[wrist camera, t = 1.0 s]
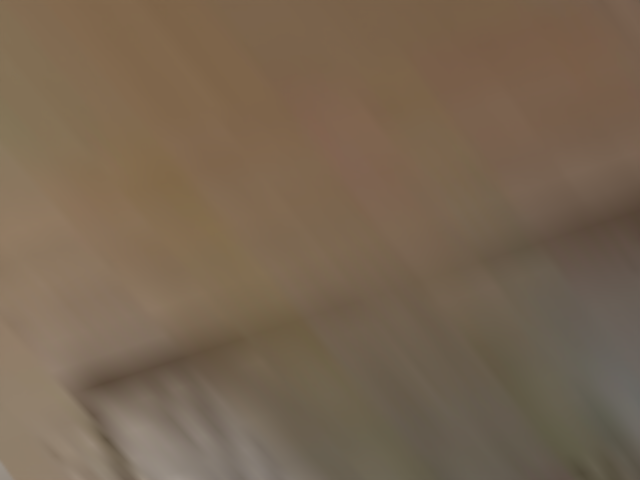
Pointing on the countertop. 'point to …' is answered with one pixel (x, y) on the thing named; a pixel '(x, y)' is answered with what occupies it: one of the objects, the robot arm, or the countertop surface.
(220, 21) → the countertop surface
